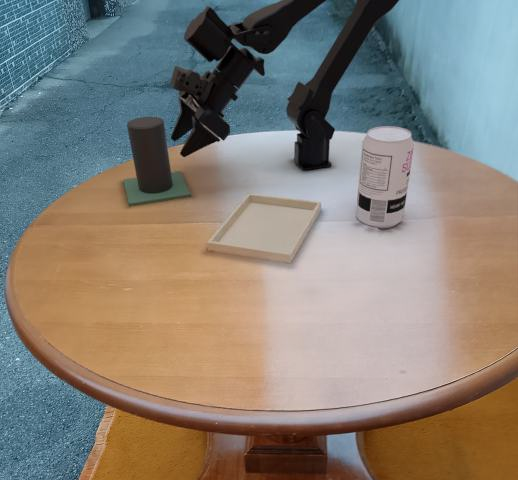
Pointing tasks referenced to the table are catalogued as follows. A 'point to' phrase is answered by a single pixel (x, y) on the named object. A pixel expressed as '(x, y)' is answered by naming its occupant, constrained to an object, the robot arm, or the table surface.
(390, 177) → the supplement can
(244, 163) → the table surface
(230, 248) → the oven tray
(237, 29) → the robot arm
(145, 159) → the dark grey cylinder
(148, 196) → the plate
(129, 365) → the table surface
